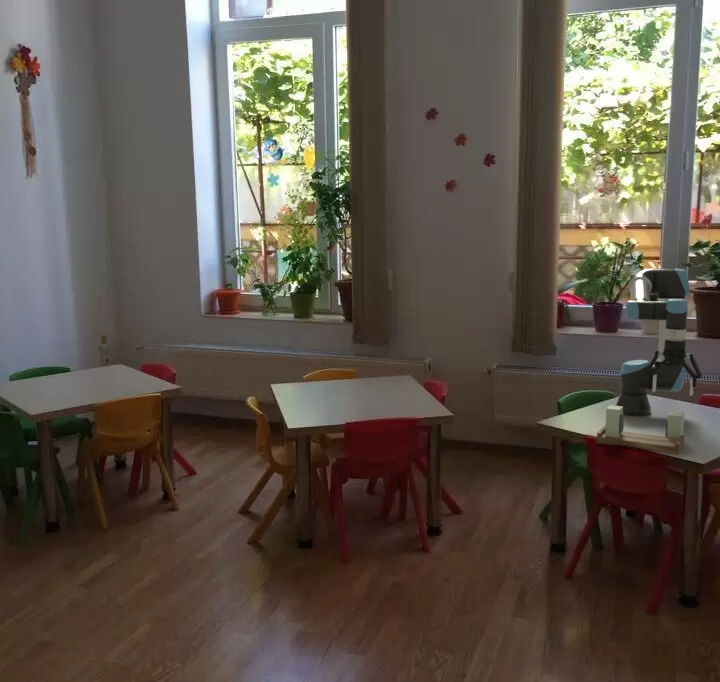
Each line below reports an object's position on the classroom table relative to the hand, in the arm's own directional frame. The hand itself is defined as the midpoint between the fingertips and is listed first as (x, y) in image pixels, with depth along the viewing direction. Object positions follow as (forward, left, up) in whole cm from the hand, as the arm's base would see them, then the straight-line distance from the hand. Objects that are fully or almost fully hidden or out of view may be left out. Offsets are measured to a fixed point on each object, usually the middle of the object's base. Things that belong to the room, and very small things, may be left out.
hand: (672, 393), depth 293 cm
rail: (+9, -9, -19) cm, 24 cm away
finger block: (-2, +1, -20) cm, 20 cm away
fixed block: (+9, -19, -17) cm, 27 cm away
